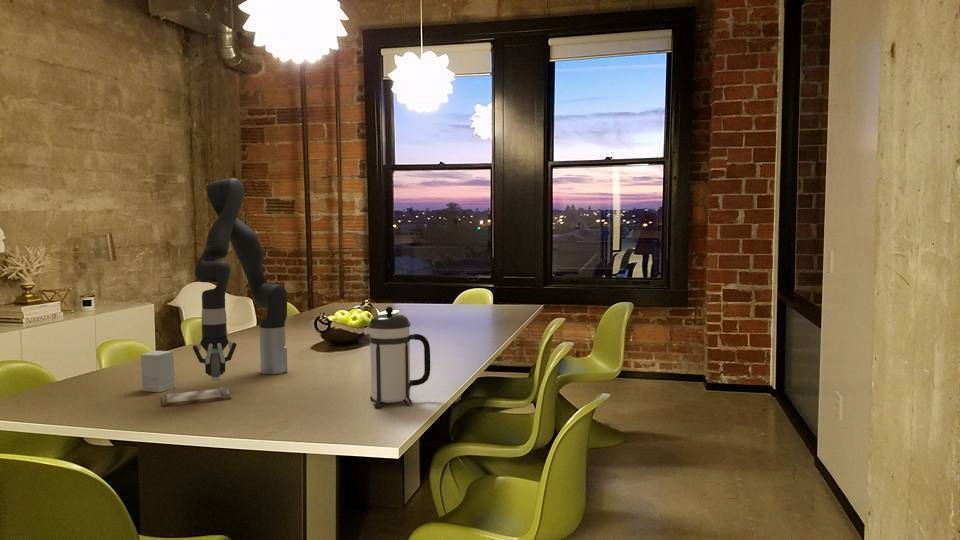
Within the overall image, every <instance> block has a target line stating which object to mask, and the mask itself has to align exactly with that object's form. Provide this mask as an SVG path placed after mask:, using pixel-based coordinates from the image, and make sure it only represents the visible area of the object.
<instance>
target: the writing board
mask: <svg viewBox="0 0 960 540" xmlns="http://www.w3.org/2000/svg"><path fill="white" fill-rule="evenodd" d="M228 400H232V395H231V393H230V390H229V388H228V386H222V387H219V388H215V389H204V390H195V391H186V392H185V391H183V392H177V393H176V392H175V393H167V394H166V393H165V394H161V407H162V408H163V407H165V408H166V407H171V406H180V405H181V406H182V405H184V406H185V405H193V404H201V403H210V402H219V401H228Z"/></svg>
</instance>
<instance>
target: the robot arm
mask: <svg viewBox="0 0 960 540" xmlns="http://www.w3.org/2000/svg"><path fill="white" fill-rule="evenodd" d="M206 196H207V198H208V200H209V203H210V205H211V207H212V208H213V210H214V212H215V214H216V216H217V219H216V220H215V221H214V222H213V223H212V225H211V227H210V229H209V231H208V233H207V238H206V241H205V242H206V243H205V248H204V250H203V252H202V254H201V255H200V258H199V259H198V261H197V262H196V265H195V268H194V276H195V278H196V280H197V281H199V283H216V286H215V287H214V288H211V289H207V290H203V291H202V292H201V340H200V342H198V343H197V344H193V345H192V350H193V352H194V354H195V357H196V358H197V360H198V362H199V363H200V364H204V367H205V368H204V369H205V370H204V371H205V374H206V375H207V376H210V357H211V352H212V349H216V348H218V350H219V354H220V358H221V375H224V373H226V362H228V361H229V362H230V361H231V360H232V359H233V358H232V357H233V354H234V353H235V350H236V348H237V343H236V342H235V341H233V342H232V341H229V339H228V336H227V335H228V333H227V332H228V331H227V330H228V329H227V328H228V327H227V324H228V323H227V321H228V319H227V312H226V311H227V310H226V293H227V286H228V282H229V279H230V275H231V267H230V264H229V263H228V262H227V261H226V260H221V259H224V258H226V257H227V255H228V253H229V247H230V243H231V246H232V248H233V250H234V253H235V256H237V257H236V258H237V259H238V261H239V263H240V265H241V268H242V270H243V272H244V275H245V277H246V279H247V283H248V285H249V288H250V291H251V296H252V298H253V300H254V302H255V304H256V305H257V306H258V307H259V308H262V309H267V310H266V311H267V312H266V315H265V316H264V317H263V318H260V319H259V326H258V327H259V353H260V354H259V355H260V357H259V358H260V373H261V374H263V375H277V374H278V375H279V374H283V373H288V347H287V345H286V342H287V341H286V321H287V318H288V293H287V290H286V288H285V287H284V286H283V285H282V284H278V283H269V281H268V280H267V278H266V275H265V273H264V270H263V261H264V249H263V246H262V244H261V241H260V239H259V237H258V235H257V234H256V232H255V231H254V229H252V228H250V227H249V226H248V225H247V224H246V223H244V222H243V221H242V220H240V219H239V218H238V214H239V212H240V209H241V207H242V204H243V201H244V196H245V189H244V186H243V184H242V182H241V181H240V180H239V179H238V178H236V177H235V178H234V177H231V178H225V179H220V180H216V181H211V182H209V183H208V184H207V186H206ZM227 346H228V348H229V351H228V353H227V355H226V356H225V355H224V350H225V349H226V347H227ZM201 347H202V348H203V349H204V350H205V352H206V353H205V357H203V356H202V355H201V352H200V351H201V349H202V348H201Z"/></svg>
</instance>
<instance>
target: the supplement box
mask: <svg viewBox="0 0 960 540" xmlns="http://www.w3.org/2000/svg"><path fill="white" fill-rule="evenodd" d="M174 360H175V358H174V351H169V350H167V351H166V350H155V351H150V352H146V353H142V354H140V363H141V382H142V383H141V384H142V386H141V387H142V392H151V393H152V392H153V393H161V392H165V391H169V390H172V389H175V388H176V382H175V362H174Z"/></svg>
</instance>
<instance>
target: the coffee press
mask: <svg viewBox="0 0 960 540" xmlns="http://www.w3.org/2000/svg"><path fill="white" fill-rule="evenodd" d="M385 312H386V313H385V314H378V315H375V316H373V317H372V318H371V319H370V320H369V323H368V326H367V327H366V328H365V331H364V333H363V334H364V335H369V336H368V337H369V338H368V339H369V340H368V341H369V344H370V346H369V347H370V348H369V350H370V351H369V353H370V396H369V398H370V401H372V402H373V401H375V404H374V408H375V409H381V408H382V407H383V405H384V403H385V404H386V403H389V404H390V403H399V402H403V403H404V404H405V406H407V407H409V406H412V404H413V401H412V399H411V397H410V396H411V387H415V386H420V385H423V384H425V383H426V382H427V381H428V380H429V378H430V375H431V347H430V342H429V341H428V339H427V337H426V336H425V335H422V334H419V333H414V334H410V327H411V322H410V320H409V318H408V317H407V316H405V315H403V314H397V313H393V312H394V309H393V307H392V306H387V307H386V308H385ZM411 340H415V341H420V342H421V343H422V344H423V358H424V359H423V360H424V362H423V363H424V366H423V367H424V372H423V375H422V377H420V378H418V379H413V380H412V379H411V363H410V362H411V360H410V357H411V356H410V353H411V351H410V350H411V349H410V342H411Z"/></svg>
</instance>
